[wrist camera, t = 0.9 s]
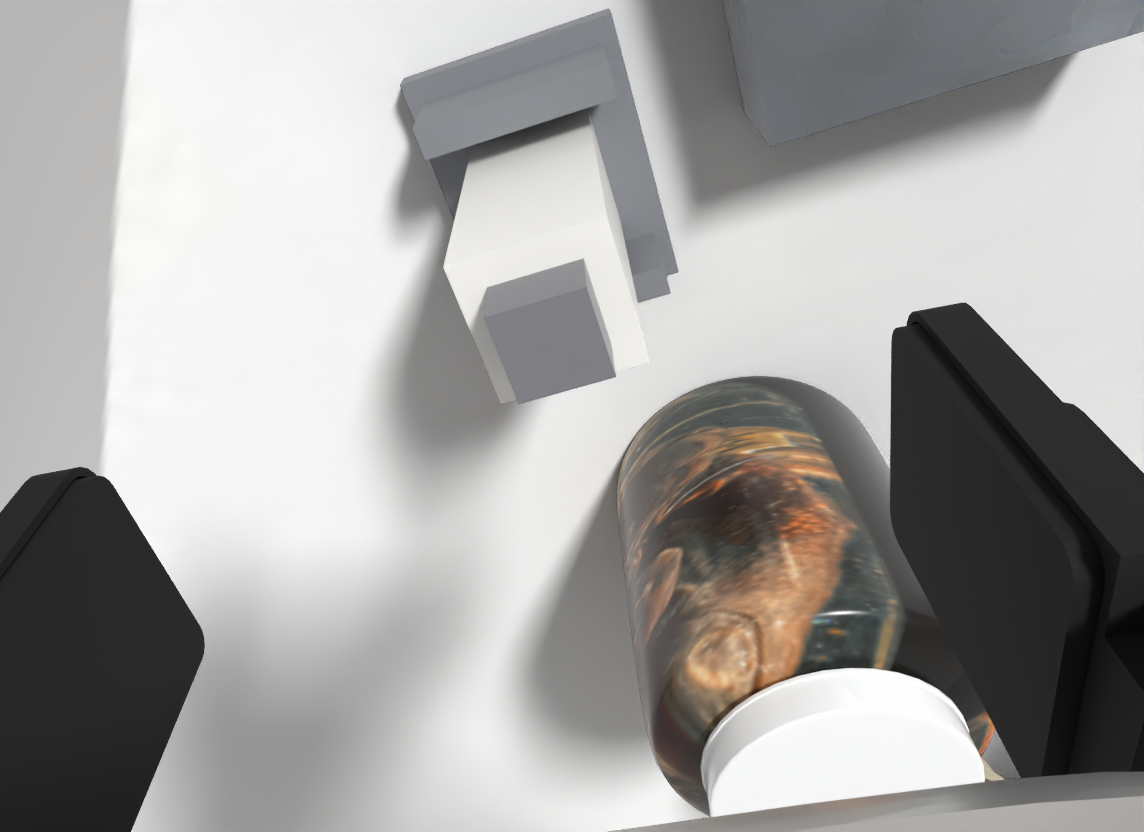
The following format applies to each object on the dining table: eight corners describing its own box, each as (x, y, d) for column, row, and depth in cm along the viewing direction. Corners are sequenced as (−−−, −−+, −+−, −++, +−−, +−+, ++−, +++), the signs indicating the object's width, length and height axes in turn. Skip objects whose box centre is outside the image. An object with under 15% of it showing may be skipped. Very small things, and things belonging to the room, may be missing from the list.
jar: (932, 418, 36) (1137, 715, 24) (805, 608, 42) (915, 926, 30) (673, 341, 34) (750, 627, 21) (577, 554, 40) (593, 875, 27)
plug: (620, 221, 30) (657, 395, 20) (512, 254, 31) (498, 439, 21) (587, 108, 28) (611, 243, 18) (472, 146, 29) (435, 296, 19)
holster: (674, 261, 32) (690, 308, 29) (497, 313, 33) (492, 365, 30) (608, 8, 27) (618, 30, 24) (404, 78, 28) (385, 108, 25)
